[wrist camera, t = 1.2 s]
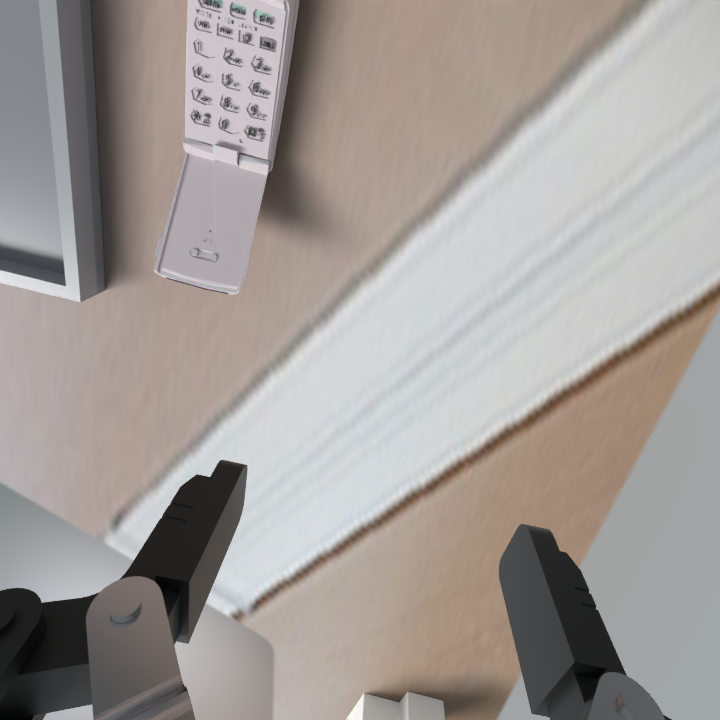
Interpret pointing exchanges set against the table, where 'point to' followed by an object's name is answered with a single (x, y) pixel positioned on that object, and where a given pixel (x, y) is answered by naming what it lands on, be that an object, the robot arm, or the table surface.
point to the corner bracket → (398, 708)
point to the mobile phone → (226, 137)
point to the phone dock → (49, 150)
